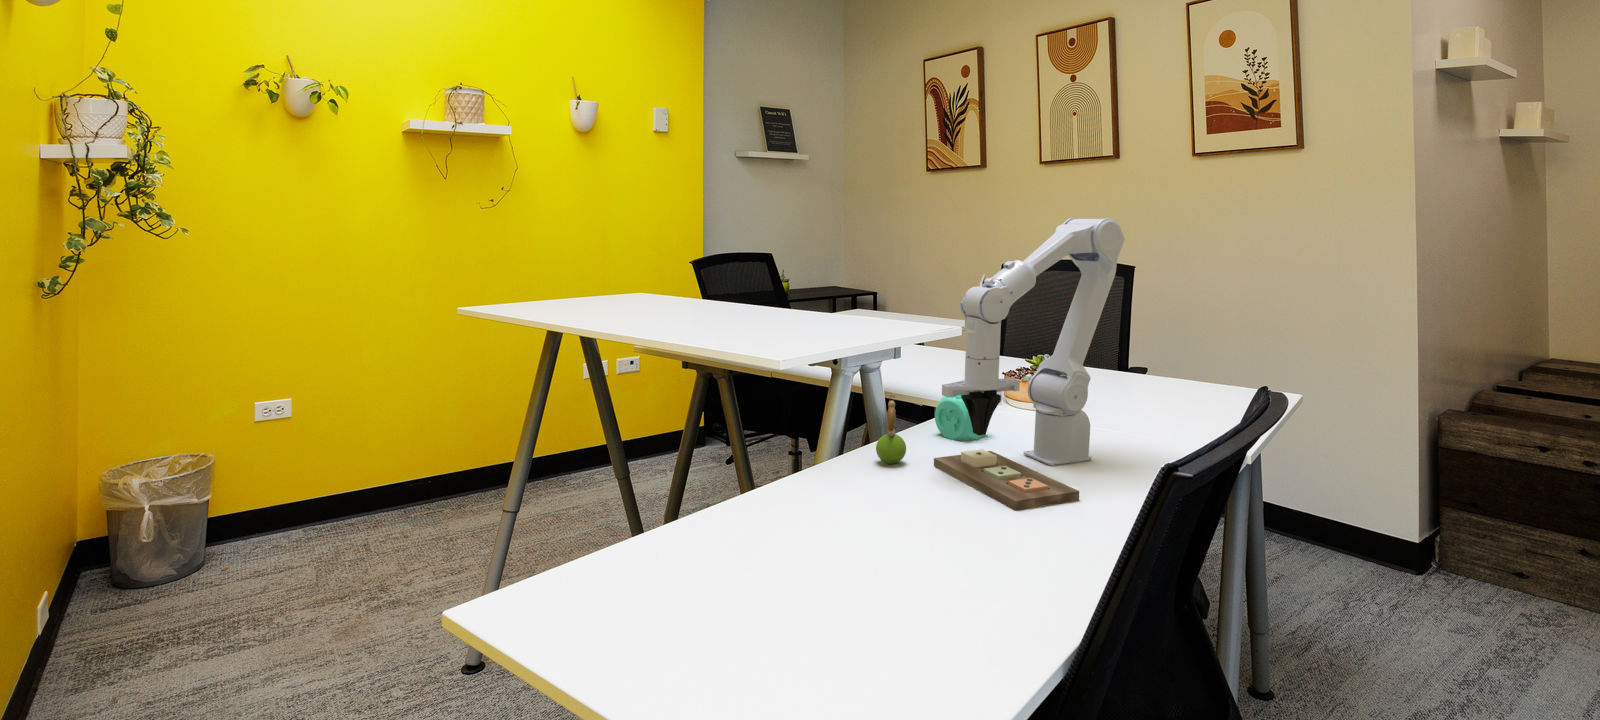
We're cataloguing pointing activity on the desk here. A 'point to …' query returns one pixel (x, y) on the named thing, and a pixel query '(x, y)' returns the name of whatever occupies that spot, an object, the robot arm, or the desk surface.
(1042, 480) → the button board
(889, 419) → the green wooden maraca
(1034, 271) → the robot arm
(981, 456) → the cream button
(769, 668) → the desk surface
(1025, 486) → the terracotta button
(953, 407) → the decorative dice
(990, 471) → the sage button
